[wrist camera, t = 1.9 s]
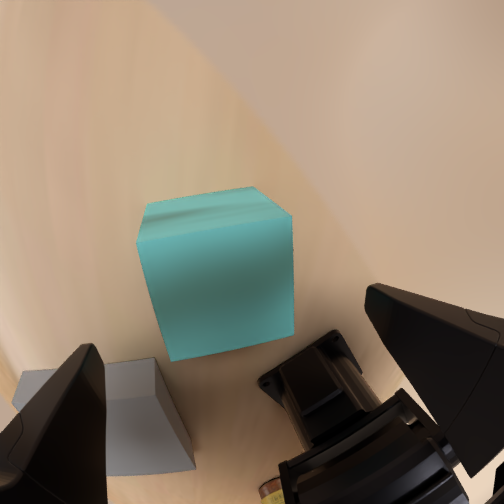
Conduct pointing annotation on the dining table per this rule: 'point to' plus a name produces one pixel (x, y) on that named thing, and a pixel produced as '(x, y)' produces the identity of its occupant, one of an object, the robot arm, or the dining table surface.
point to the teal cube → (218, 271)
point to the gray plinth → (132, 419)
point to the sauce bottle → (272, 492)
